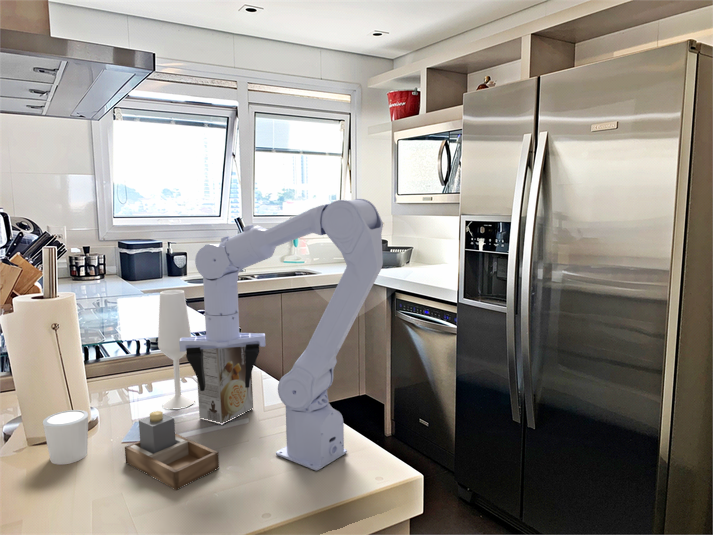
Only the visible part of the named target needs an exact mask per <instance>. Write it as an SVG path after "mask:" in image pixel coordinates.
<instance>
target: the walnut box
mask: <svg viewBox="0 0 713 535" xmlns="http://www.w3.org/2000/svg"><path fill="white" fill-rule="evenodd" d="M175 440H176V444H175V445H173V446H171V447H168V448H166V449H163V450H161V451H159V452H156V453H154V454H152V453H150V452H148V451H146V450H144V449H142V448H141V447H140V440H138V441H136V442H134V443H131V444H127V445H126V446H124V459H125V463H126V464H127V463H128V464H127V465H128V466H131V467H132V466H133V468H134V467H135V468H134V469H136V468H137V469H136V470H138V469H139V470H138V471H140V470H141V471H140V472H142V471H143V472H142V473H144V472H145V473H147V474H148V475H147V474H146V475H147V476H149V475H150V476H149V477H151V476H152V477H151V478H153V477H154V478H153V479H155V478H156V479H158V480H160V481H161V482H160V481H159V482H160V483H162V482H163V484H164V483H165V484H164V485H166V486H167V487H169V486H170V487H169V488H171V487H172V489H173V488H174V489H173V490H175V491H177V490H179V489H181V488H183V487H185V486H187V485H189V484H191V483H193V482H195V481H197V480H199V479H201V478H203V477H205V476H207V475H209V474H211V473H213V472H215V471H216V470H215V469H217V468H218V467H219V468H220V461H219V459H220V458H219V451H216V450H214V449H211V448H210V447H207V446H205V445H203V444H200V443H199V442H196V441H193V440H191V439H189V438H187V437H185V436H182V435H180V434H178V433H175ZM214 470H215V471H214ZM217 470H218V469H217ZM212 471H213V472H212ZM210 472H211V473H210ZM145 473H144V474H145ZM208 473H209V474H208ZM206 474H207V475H206ZM204 475H205V476H204ZM202 476H203V477H202ZM200 477H201V478H200ZM198 478H199V479H198ZM156 479H155V480H156ZM158 480H157V481H158ZM192 481H193V482H192ZM190 482H191V483H190ZM188 483H189V484H188ZM186 484H187V485H186ZM184 485H185V486H184ZM182 486H183V487H182ZM180 487H181V488H180ZM178 488H179V489H178Z"/></svg>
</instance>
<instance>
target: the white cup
mask: <svg viewBox="0 0 713 535" xmlns="http://www.w3.org/2000/svg"><path fill="white" fill-rule="evenodd" d="M42 425H43V431H44V436H45V439H46V446H47V451H48V455H49V459H50V462H51V463H52V464H54V465H67V464H72V463H76V462H79V461H81V460H82V459H84V458H86V456H87V455H88V444H89V442H88V441H89V437H88V436H89V412H88V411H86V410H83V409H82V410H81V409H70V410H64V411H59V412H56V413H53V414H51V415H48V416H46V418H44V419H43V421H42Z"/></svg>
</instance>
